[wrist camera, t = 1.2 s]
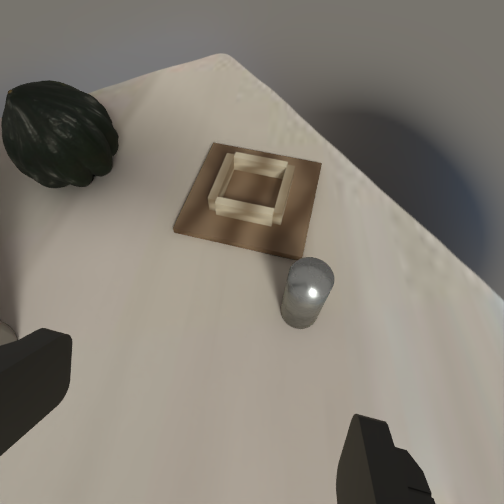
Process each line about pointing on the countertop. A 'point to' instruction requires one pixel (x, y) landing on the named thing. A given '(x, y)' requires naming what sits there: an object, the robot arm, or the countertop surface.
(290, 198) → the socket board
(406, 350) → the countertop surface
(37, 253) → the countertop surface
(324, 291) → the steel cylinder
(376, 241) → the countertop surface
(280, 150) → the countertop surface
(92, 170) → the squash
